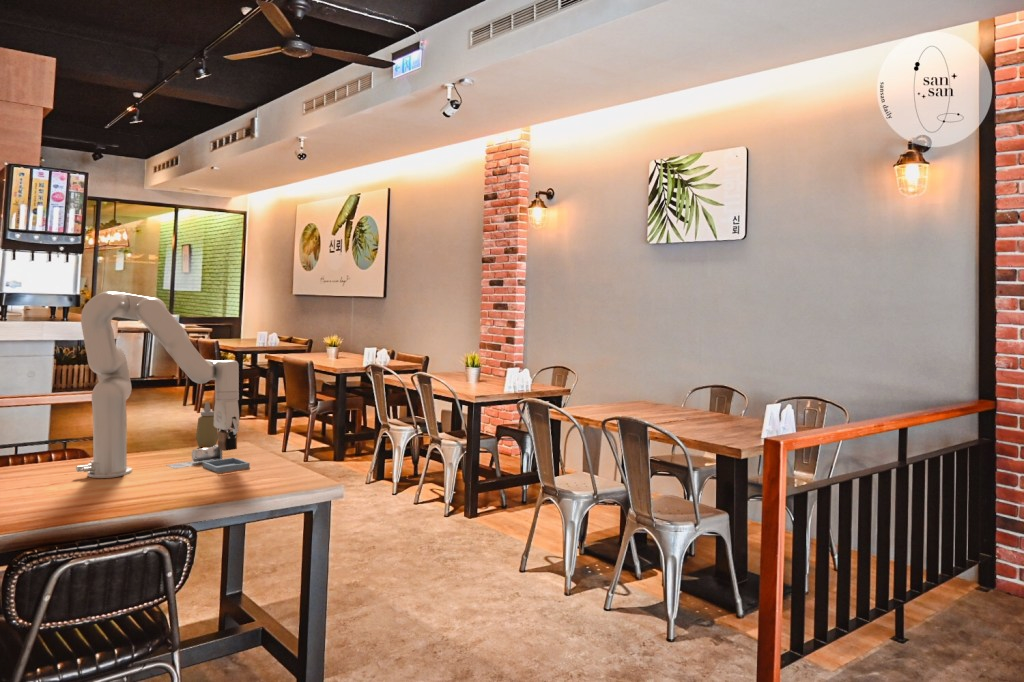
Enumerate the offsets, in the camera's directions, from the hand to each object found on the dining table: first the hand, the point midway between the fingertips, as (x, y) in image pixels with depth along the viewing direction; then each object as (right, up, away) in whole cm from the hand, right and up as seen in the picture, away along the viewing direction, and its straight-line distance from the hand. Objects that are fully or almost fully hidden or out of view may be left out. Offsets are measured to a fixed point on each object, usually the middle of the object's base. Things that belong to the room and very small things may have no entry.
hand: (227, 447), depth 239 cm
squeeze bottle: (-22, -5, +34) cm, 41 cm away
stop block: (0, 0, 0) cm, 0 cm away
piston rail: (-13, -7, +6) cm, 16 cm away
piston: (-11, -7, +8) cm, 15 cm away
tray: (0, -7, 0) cm, 7 cm away
